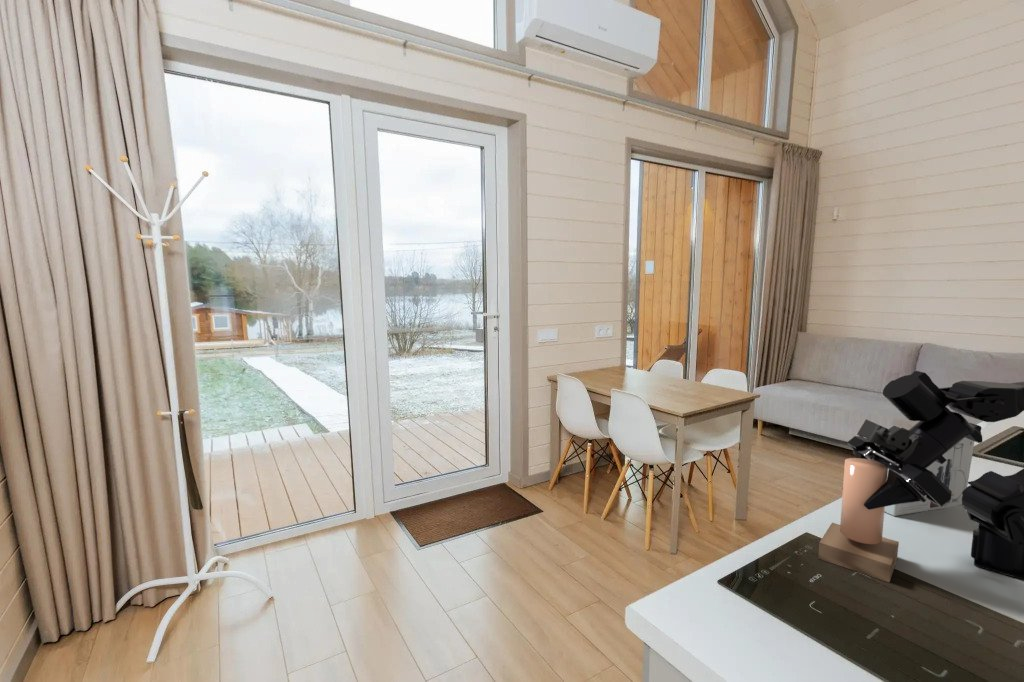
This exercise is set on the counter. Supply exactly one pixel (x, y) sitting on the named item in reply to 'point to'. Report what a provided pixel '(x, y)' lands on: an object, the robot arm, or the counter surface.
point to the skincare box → (944, 479)
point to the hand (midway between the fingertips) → (854, 499)
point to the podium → (859, 554)
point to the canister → (862, 500)
